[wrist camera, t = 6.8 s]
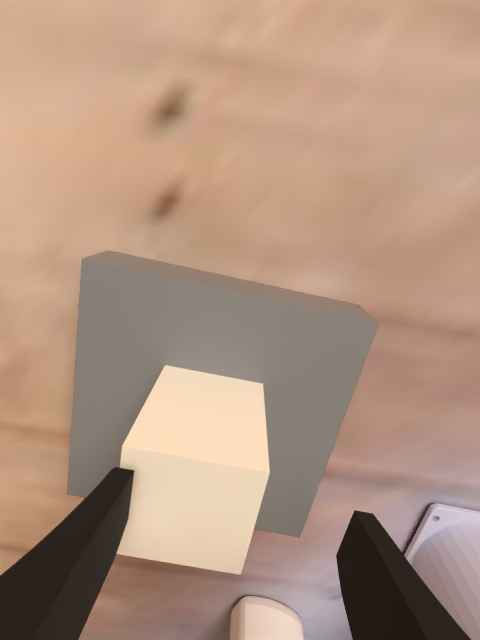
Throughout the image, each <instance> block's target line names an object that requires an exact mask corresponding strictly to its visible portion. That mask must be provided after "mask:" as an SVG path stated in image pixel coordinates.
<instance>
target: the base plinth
mask: <svg viewBox="0 0 480 640" xmlns="http://www.w3.org/2000/svg"><path fill="white" fill-rule="evenodd" d="M378 325H379V323H378V322H377V321H376V320H375V319H374V318H373V317H372V316H371V315H370V314H368V313H367V312H366V311H365V310H364V309H363V308H362V307H361V306H360V305H356V304H351V303H346V302H342V301H337V300H333V299H328V298H324V297H319V296H314V295H310V294H305V293H301V292H296V291H291V290H287V289H282V288H278V287H273V286H269V285H264V284H259V283H255V282H250V281H246V280H241V279H236V278H232V277H227V276H223V275H218V274H213V273H209V272H204V271H200V270H195V269H191V268H186V267H181V266H177V265H172V264H168V263H163V262H158V261H154V260H149V259H145V258H140V257H136V256H131V255H126V254H122V253H117V252H113V251H105V252H102V253H99V254H96V255H92V256H89V257H86V258H83V259H82V264H81V280H80V296H79V312H78V328H77V344H76V360H75V376H74V393H73V409H72V425H71V441H70V457H69V473H68V489H67V494H69V495H74V496H80V497H85V498H86V497H87V496H88V495H89V494H90V493H91V492H92V491H93V490H94V489H95V487H96V486H97V485H98V484H99V483H100V482H101V481H102V480H103V479H104V477H105V476H106V475H107V474H108V473H109V472H110V470H111V469H113V468H114V467H119V468H120V461H121V451H122V445H123V443H124V442H125V440H126V438H127V436H128V434H129V432H130V430H131V428H132V426H133V425H134V423H135V421H136V419H137V417H138V415H139V413H140V411H141V410H142V408H143V406H144V404H145V402H146V400H147V398H148V396H149V395H150V393H151V391H152V389H153V387H154V385H155V383H156V381H157V379H158V378H159V376H160V374H161V372H162V370H163V368H164V366H165V365H167V366H172V367H178V368H183V369H188V370H194V371H199V372H204V373H209V374H215V375H220V376H225V377H230V378H236V379H241V380H246V381H251V382H257V383H262V384H263V389H264V403H265V416H266V429H267V442H268V456H269V469H270V474H269V477H268V481H267V484H266V488H265V491H264V495H263V498H262V502H261V505H260V509H259V512H258V516H257V520H256V523H255V527H254V529H257V530H262V531H268V532H273V533H278V534H284V535H289V536H294V537H300V535H301V532H302V530H303V527H304V524H305V521H306V519H307V516H308V513H309V511H310V508H311V505H312V503H313V500H314V497H315V495H316V492H317V489H318V486H319V484H320V481H321V478H322V476H323V473H324V470H325V468H326V465H327V462H328V459H329V457H330V454H331V451H332V449H333V446H334V443H335V441H336V438H337V435H338V433H339V430H340V427H341V424H342V422H343V419H344V416H345V414H346V411H347V408H348V406H349V403H350V400H351V397H352V395H353V392H354V389H355V387H356V384H357V381H358V379H359V376H360V373H361V371H362V368H363V365H364V362H365V360H366V357H367V354H368V352H369V349H370V346H371V344H372V341H373V338H374V335H375V333H376V330H377V327H378Z"/></svg>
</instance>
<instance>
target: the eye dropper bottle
mask: <svg viewBox="0 0 480 640" xmlns="http://www.w3.org/2000/svg"><path fill="white" fill-rule="evenodd" d="M230 640H304V634H303V626H302V622H301V620H300V617H299V616H298V615H297V614H296V613H295V612H294V611H292V610H291V609H290V608H288V607H287V606H285V605H283V604H281V603H279V602H277V601H274V600H271V599H268V598H263V597H257V596H245V597H243V598H242V599H241V600H240V601H239V602H238V603H237V604H236V606H235V607H234V608H233V610H232V613H231V624H230Z"/></svg>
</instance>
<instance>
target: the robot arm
mask: <svg viewBox="0 0 480 640" xmlns="http://www.w3.org/2000/svg"><path fill="white" fill-rule="evenodd" d="M133 478H134V470H130V469H124V468H119V467H114V468H113V469H111V470H110V472H109V473H108V474H107V475H106V476H105V477H104V479H103V480H102V481H101V482H100V483H99V484H98V485H97V486H96V487H95V489H94V490H93V491H92V492H91V493H90V494H89V495H88V496H87V497H86V498H85V499H84V500H83V501H82V502H81V503H80V504H79V505H78V506H77V507H76V508H75V509H74V510H73V511H72V512H71V513H70V514H69V515H68V516H67V517H66V518H65V519H64V520H63V521H62V522H61V523H60V524H59V525H58V526H57V527H56V528H55V529H54V530H52V531H51V532H50V533H49V534H48V535H47V536H46V537H45V538H44V539H43V540H41V541H40V542H39V543H38V544H37V545H36V546H35V547H34V548H33V549H31V550H30V551H29V552H28V553H27V554H26V555H25V556H23V557H22V558H21V559H20V560H19V561H18V562H16V563H15V564H14V565H13V566H11V567H10V568H9V569H8V570H7V571H5V572H4V573H3V574H2V575H0V640H78V639H79V636H80V634H81V632H82V630H83V628H84V625H85V623H86V621H87V619H88V616H89V614H90V612H91V610H92V608H93V605H94V603H95V601H96V599H97V596H98V594H99V592H100V590H101V587H102V585H103V583H104V581H105V578H106V576H107V574H108V572H109V569H110V567H111V565H112V563H113V560H114V558H115V556H116V553H117V550H118V548H119V545H120V542H121V539H122V536H123V533H124V530H125V527H126V524H127V521H128V518H129V510H130V502H131V494H132V486H133ZM336 557H337V565H338V572H339V579H340V586H341V592H342V597H343V601H344V605H345V610H346V614H347V618H348V622H349V626H350V630H351V634H352V638H353V640H480V511H475V510H470V509H464V508H459V507H454V506H449V505H444V504H439V503H435V504H432V505H431V506H430V507H429V508H428V510H427V512H426V514H425V516H424V518H423V520H422V522H421V524H420V526H419V528H418V529H417V531H416V533H415V535H414V537H413V539H412V541H411V543H410V545H409V547H408V549H407V551H406V553H405V554H404V555H403V554H402V552H401V551H400V550H399V548H398V547H397V546H396V544H395V543H394V541H393V540H392V539H391V537H390V536H389V535H388V533H387V532H386V531H385V529H384V528H383V526H382V525H381V524H380V522H379V521H378V520H377V519H376V517H375V516H374V515H373V514H372V513H366V512H361V511H354V513H353V516H352V518H351V520H350V523H349V525H348V528H347V530H346V533H345V535H344V538H343V540H342V542H341V545H340V547H339V550H338V552H337V555H336Z"/></svg>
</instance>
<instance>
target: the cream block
mask: <svg viewBox="0 0 480 640" xmlns="http://www.w3.org/2000/svg"><path fill="white" fill-rule="evenodd" d="M120 468H124V469H130V470H134V478H133V486H132V494H131V502H130V510H129V518H128V521H127V524H126V527H125V530H124V533H123V536H122V539H121V542H120V545H119V548H118V550H117V553H116V554H120V555H126V556H132V557H138V558H144V559H150V560H156V561H161V562H167V563H173V564H179V565H185V566H191V567H197V568H203V569H209V570H215V571H221V572H227V573H233V574H239V575H241V572H242V569H243V565H244V562H245V558H246V555H247V551H248V548H249V544H250V541H251V537H252V534H253V530H254V527H255V523H256V520H257V516H258V512H259V509H260V505H261V502H262V498H263V495H264V491H265V488H266V484H267V481H268V477H269V474H270V469H269V456H268V442H267V429H266V416H265V403H264V389H263V384H262V383H257V382H251V381H246V380H241V379H236V378H230V377H225V376H220V375H215V374H209V373H204V372H199V371H194V370H188V369H183V368H178V367H172V366H167V365H165V366H164V368H163V370H162V372H161V374H160V376H159V378H158V379H157V381H156V383H155V385H154V387H153V389H152V391H151V393H150V395H149V396H148V398H147V400H146V402H145V404H144V406H143V408H142V410H141V411H140V413H139V415H138V417H137V419H136V421H135V423H134V425H133V426H132V428H131V430H130V432H129V434H128V436H127V438H126V440H125V442H124V443H123V445H122V451H121V461H120Z"/></svg>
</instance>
